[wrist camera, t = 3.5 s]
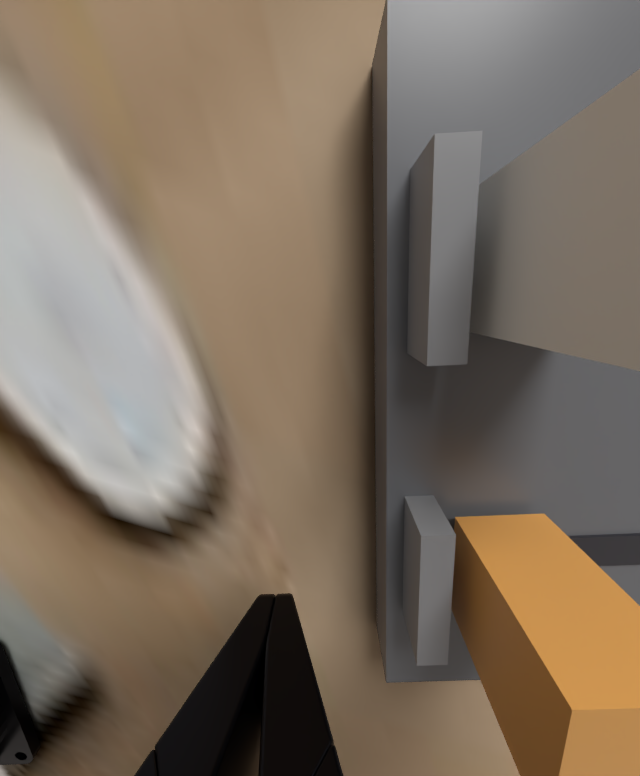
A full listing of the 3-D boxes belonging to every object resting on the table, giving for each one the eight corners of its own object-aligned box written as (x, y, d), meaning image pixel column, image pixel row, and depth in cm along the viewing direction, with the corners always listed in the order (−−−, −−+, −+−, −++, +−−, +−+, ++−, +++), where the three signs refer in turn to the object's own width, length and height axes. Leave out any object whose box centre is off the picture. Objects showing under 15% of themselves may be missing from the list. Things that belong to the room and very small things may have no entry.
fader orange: (531, 601, 10) (691, 834, 6) (449, 604, 10) (546, 837, 6) (544, 513, 9) (743, 705, 5) (455, 517, 9) (572, 710, 5)
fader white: (571, 326, 8) (874, 361, 3) (466, 331, 8) (641, 371, 4) (592, 180, 7) (1017, -7, 3) (475, 187, 7) (714, 14, 3)
